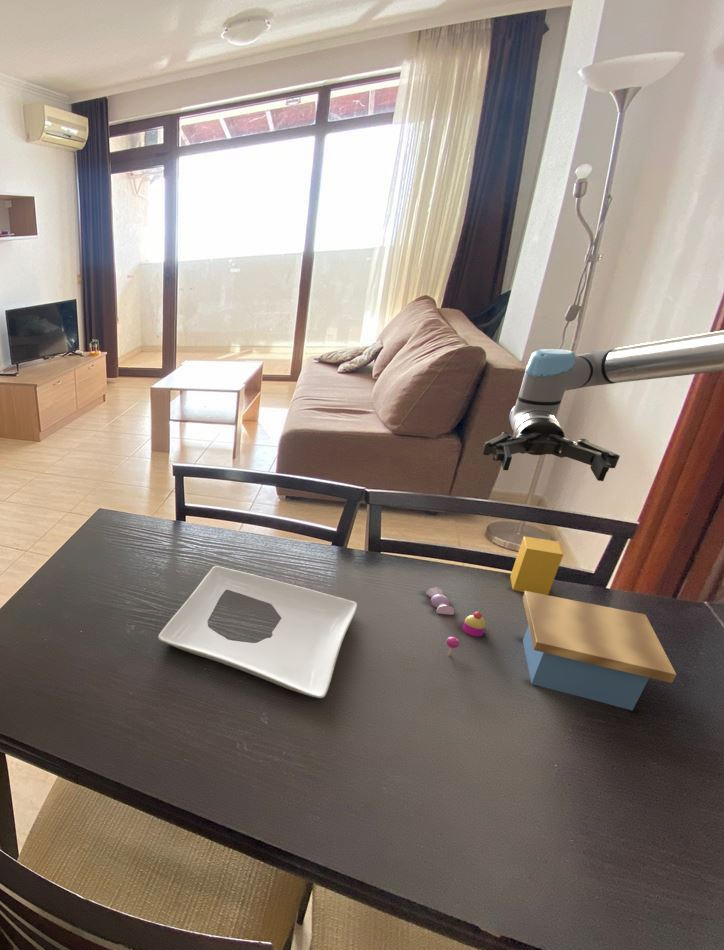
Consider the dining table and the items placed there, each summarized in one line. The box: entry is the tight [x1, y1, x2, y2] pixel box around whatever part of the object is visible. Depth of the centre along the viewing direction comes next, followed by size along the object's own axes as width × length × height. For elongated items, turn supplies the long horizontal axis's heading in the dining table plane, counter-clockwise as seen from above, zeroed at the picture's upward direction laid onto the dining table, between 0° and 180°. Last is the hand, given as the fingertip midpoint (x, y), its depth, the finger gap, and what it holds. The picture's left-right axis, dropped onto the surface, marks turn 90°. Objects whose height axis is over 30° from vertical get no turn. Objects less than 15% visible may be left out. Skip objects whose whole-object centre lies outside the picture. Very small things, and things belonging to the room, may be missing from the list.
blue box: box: [522, 625, 650, 711], centre depth 81 cm, size 11×11×8 cm
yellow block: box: [509, 535, 564, 595], centre depth 100 cm, size 5×5×10 cm
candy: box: [425, 586, 487, 656], centre depth 93 cm, size 18×8×6 cm, turn 164°
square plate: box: [157, 565, 358, 699], centre depth 96 cm, size 27×27×4 cm
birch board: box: [522, 591, 677, 684], centre depth 79 cm, size 14×14×2 cm
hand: (553, 468), depth 100 cm, fingers open, 13 cm apart
